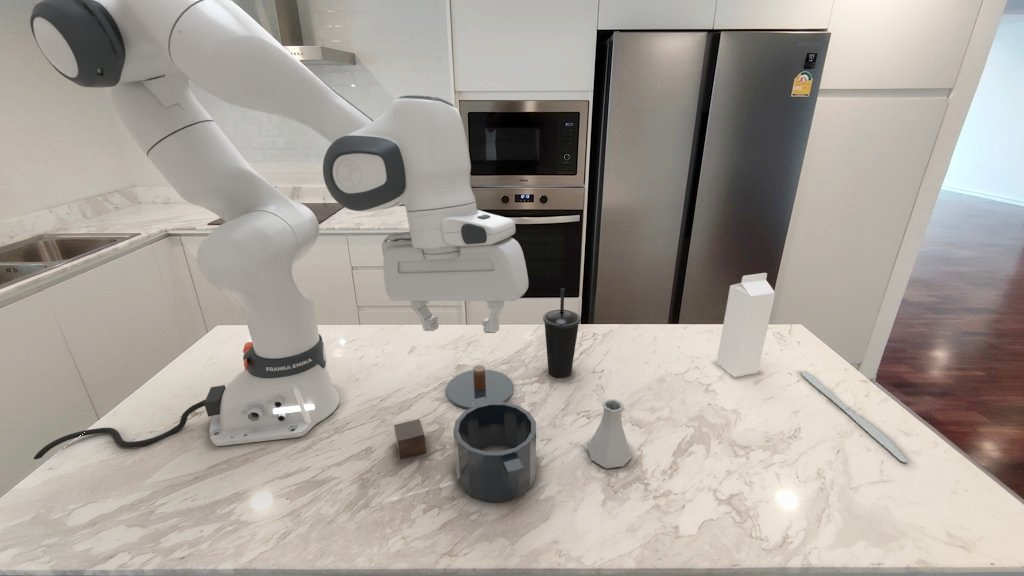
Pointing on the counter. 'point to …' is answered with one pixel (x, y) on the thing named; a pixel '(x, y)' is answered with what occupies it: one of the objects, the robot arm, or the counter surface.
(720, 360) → the milk
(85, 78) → the robot arm
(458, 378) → the lid
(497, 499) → the pot
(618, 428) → the flask
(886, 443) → the butter knife
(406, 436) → the block
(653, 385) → the counter surface
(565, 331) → the drinking cup
